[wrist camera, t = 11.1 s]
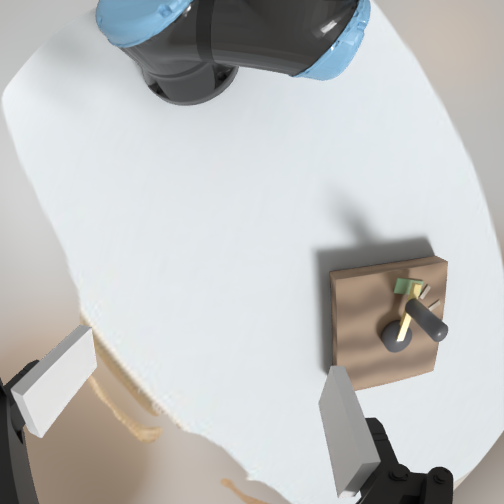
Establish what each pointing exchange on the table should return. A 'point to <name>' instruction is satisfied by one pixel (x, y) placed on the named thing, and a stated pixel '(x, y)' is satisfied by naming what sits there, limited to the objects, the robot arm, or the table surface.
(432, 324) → the dark grey lever
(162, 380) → the table surface
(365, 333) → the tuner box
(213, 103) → the table surface
